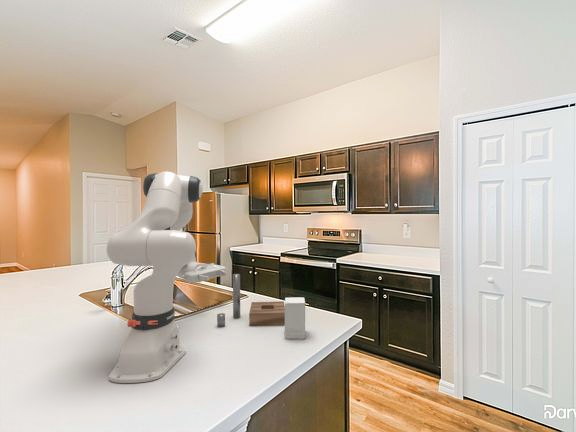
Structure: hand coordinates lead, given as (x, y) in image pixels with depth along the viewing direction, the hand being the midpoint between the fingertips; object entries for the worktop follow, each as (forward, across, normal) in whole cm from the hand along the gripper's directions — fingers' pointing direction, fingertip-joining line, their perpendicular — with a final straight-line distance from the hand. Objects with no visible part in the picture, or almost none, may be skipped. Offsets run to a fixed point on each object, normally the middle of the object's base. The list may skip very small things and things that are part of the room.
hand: (217, 276), depth 133 cm
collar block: (+24, +6, +15) cm, 29 cm away
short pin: (+14, -11, +15) cm, 24 cm away
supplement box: (+42, 0, +15) cm, 45 cm away
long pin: (+12, 0, +16) cm, 20 cm away
